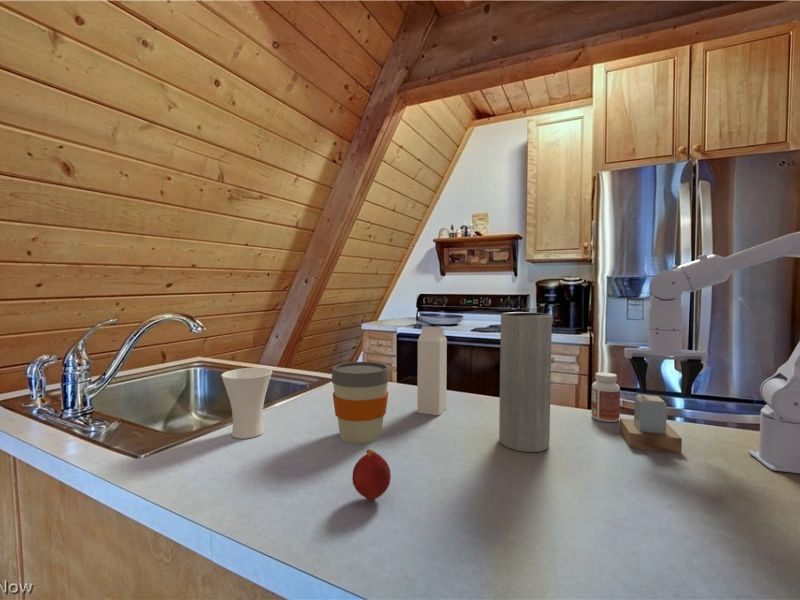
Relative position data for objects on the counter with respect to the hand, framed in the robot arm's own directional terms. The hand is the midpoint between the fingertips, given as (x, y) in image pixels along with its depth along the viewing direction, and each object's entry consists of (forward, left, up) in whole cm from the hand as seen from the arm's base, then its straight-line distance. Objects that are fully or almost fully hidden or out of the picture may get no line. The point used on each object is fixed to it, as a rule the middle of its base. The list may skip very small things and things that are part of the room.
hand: (663, 393), depth 82 cm
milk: (+51, -4, -11) cm, 52 cm away
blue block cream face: (+3, +1, -7) cm, 8 cm away
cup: (+86, +24, -11) cm, 90 cm away
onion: (+50, +40, -11) cm, 65 cm away
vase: (+28, +10, -11) cm, 31 cm away
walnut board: (+3, +1, -10) cm, 11 cm away
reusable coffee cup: (+62, +17, -11) cm, 65 cm away
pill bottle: (+9, -12, -11) cm, 18 cm away
